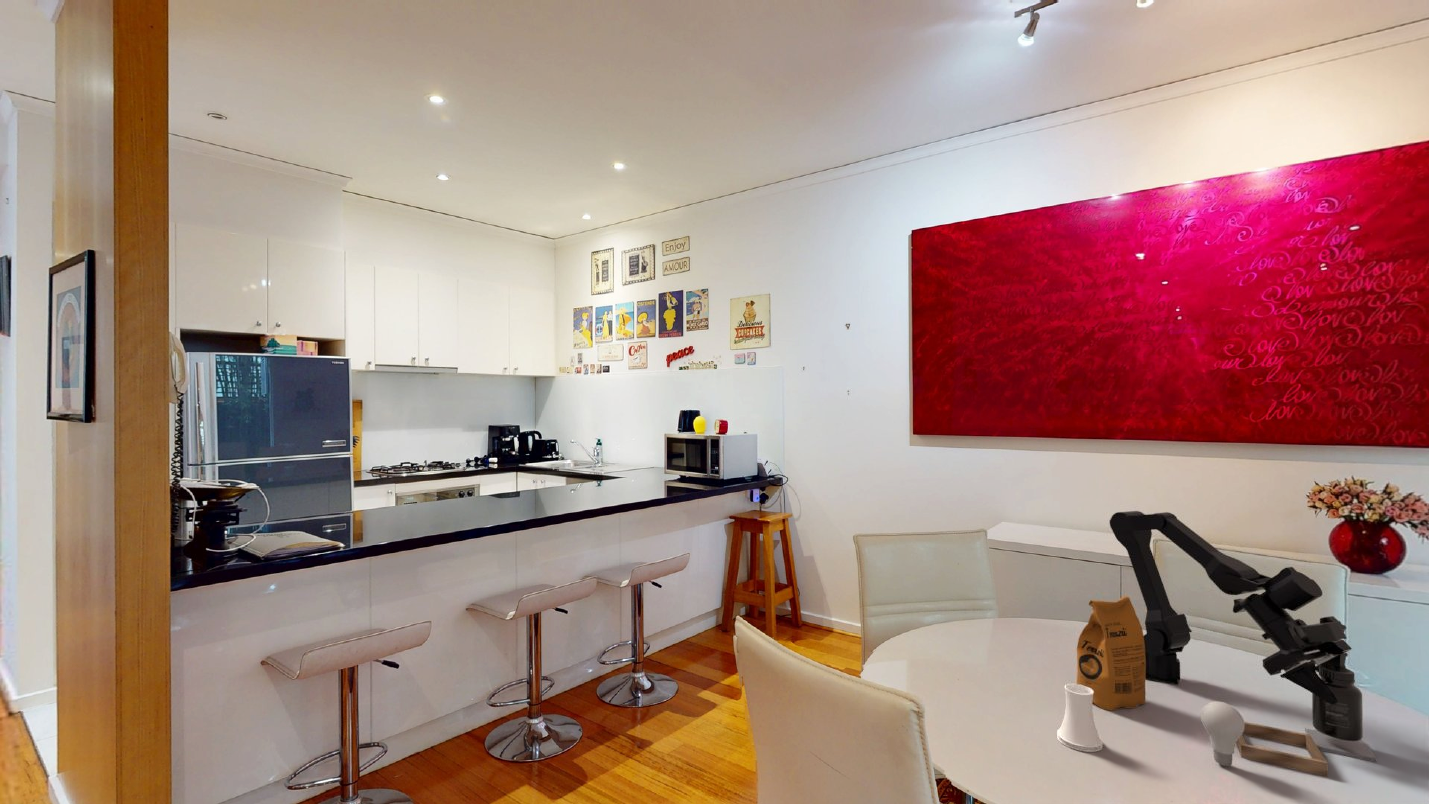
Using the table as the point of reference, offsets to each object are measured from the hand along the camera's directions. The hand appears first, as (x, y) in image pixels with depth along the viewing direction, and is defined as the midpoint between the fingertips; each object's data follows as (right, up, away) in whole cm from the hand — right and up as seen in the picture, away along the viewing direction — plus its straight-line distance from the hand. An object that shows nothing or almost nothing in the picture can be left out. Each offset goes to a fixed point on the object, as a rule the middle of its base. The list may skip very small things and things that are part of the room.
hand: (1346, 700), depth 119 cm
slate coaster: (0, -9, +1) cm, 9 cm away
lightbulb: (-28, -9, -6) cm, 30 cm away
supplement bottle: (-1, -7, +1) cm, 7 cm away
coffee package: (-31, -10, +20) cm, 39 cm away
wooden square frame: (-14, -9, -1) cm, 17 cm away
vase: (-48, -9, +3) cm, 49 cm away
